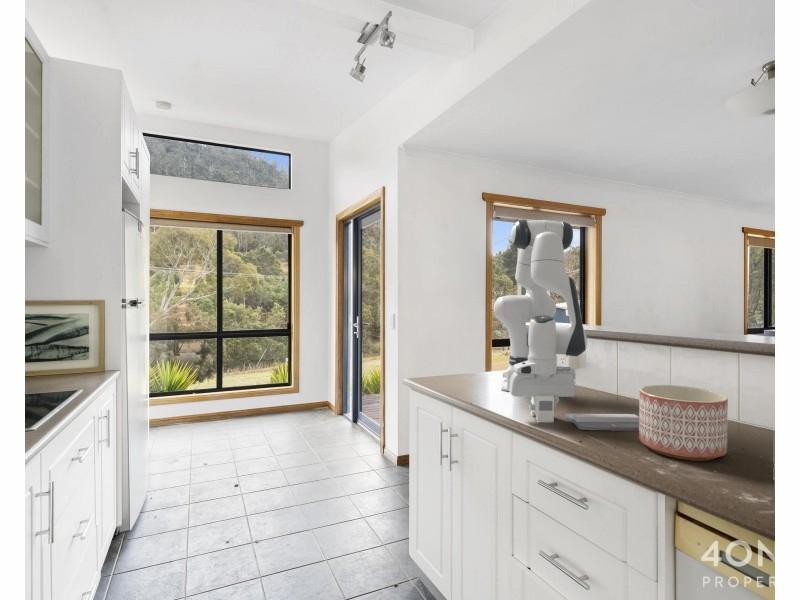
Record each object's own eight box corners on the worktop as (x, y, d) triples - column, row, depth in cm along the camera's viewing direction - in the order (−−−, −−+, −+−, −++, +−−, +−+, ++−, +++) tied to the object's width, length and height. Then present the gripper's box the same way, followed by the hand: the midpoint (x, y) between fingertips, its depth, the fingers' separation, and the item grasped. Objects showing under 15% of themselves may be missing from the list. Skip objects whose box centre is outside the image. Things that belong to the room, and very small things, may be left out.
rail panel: (565, 416, 146) (565, 409, 146) (627, 417, 145) (628, 409, 145) (581, 430, 132) (581, 422, 132) (650, 431, 131) (650, 422, 131)
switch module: (530, 414, 148) (531, 390, 148) (546, 415, 148) (546, 390, 148) (537, 422, 140) (537, 396, 140) (553, 422, 140) (554, 396, 140)
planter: (650, 432, 130) (651, 381, 129) (732, 449, 116) (733, 392, 116) (628, 450, 116) (629, 393, 115) (719, 470, 102) (720, 406, 102)
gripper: (571, 365, 146) (571, 407, 147) (508, 365, 147) (508, 407, 147) (578, 368, 140) (578, 413, 140) (512, 368, 141) (512, 412, 141)
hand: (542, 410), depth 144 cm, fingers closed on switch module, 5 cm apart
